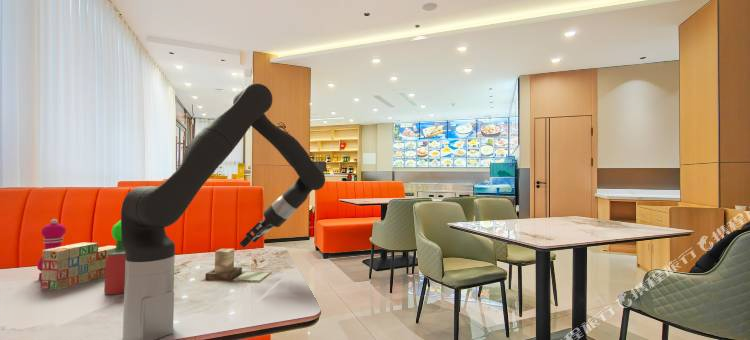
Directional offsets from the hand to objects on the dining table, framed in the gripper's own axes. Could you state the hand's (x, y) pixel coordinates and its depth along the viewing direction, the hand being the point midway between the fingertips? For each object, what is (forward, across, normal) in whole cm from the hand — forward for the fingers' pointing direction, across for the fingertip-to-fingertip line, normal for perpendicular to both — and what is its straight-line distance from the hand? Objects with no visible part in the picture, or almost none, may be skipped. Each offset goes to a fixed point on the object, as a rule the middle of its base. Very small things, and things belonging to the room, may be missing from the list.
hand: (247, 242), depth 112 cm
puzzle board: (+11, 0, +7) cm, 13 cm away
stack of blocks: (+48, +5, -29) cm, 56 cm away
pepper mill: (+57, +4, -38) cm, 69 cm away
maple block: (+14, 0, +3) cm, 14 cm away
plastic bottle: (+37, +3, -19) cm, 42 cm away
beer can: (+33, +15, -14) cm, 39 cm away
